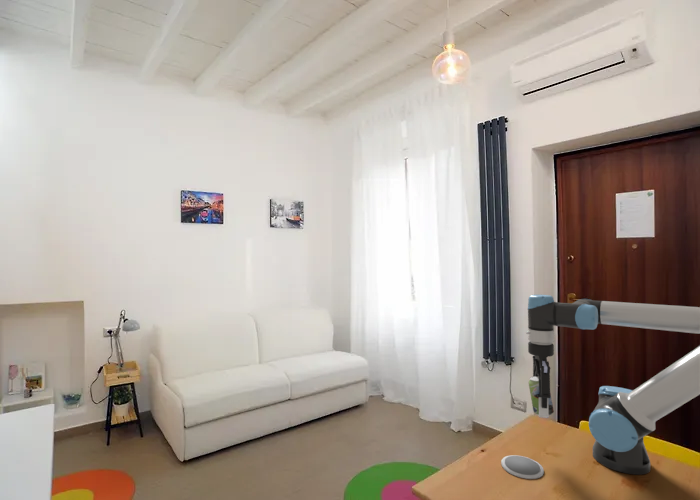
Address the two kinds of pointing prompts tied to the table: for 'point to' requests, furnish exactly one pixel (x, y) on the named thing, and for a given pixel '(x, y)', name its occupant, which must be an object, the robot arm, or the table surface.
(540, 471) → the grey white round coaster
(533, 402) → the beverage can
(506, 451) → the table surface
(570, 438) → the table surface
